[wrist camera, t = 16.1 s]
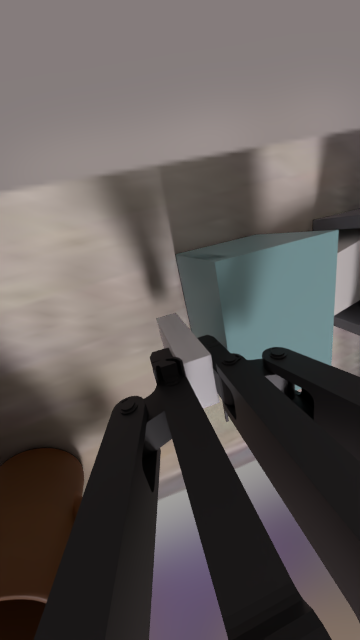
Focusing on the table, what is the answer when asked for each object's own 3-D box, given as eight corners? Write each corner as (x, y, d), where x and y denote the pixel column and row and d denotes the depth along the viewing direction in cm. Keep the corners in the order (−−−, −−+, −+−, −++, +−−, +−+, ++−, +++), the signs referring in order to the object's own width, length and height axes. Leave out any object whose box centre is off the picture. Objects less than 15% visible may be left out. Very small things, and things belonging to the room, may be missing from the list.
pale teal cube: (196, 356, 21) (237, 413, 14) (175, 254, 17) (214, 262, 10) (263, 334, 22) (330, 376, 15) (255, 234, 19) (338, 229, 12)
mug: (123, 420, 21) (128, 541, 13) (136, 475, 24) (147, 606, 15) (-22, 459, 19) (-140, 643, 10) (10, 516, 21) (-62, 700, 13)
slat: (260, 326, 22) (289, 342, 18) (245, 281, 20) (273, 289, 16) (358, 268, 23) (404, 273, 19) (353, 220, 21) (402, 215, 17)
